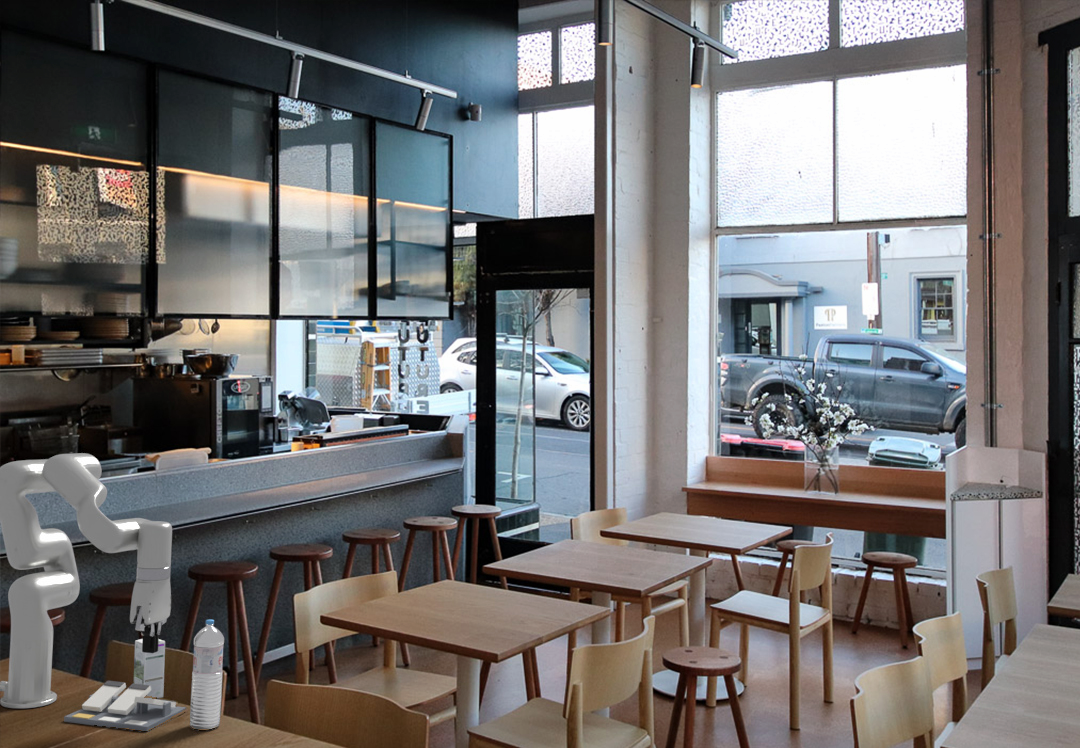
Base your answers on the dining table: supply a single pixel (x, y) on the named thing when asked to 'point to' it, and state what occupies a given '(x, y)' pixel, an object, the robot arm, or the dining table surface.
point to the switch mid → (129, 699)
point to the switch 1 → (104, 696)
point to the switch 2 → (154, 701)
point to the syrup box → (150, 668)
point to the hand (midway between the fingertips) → (150, 651)
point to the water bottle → (207, 678)
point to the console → (126, 716)
